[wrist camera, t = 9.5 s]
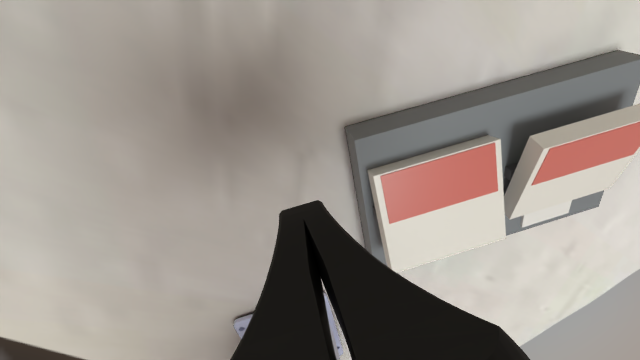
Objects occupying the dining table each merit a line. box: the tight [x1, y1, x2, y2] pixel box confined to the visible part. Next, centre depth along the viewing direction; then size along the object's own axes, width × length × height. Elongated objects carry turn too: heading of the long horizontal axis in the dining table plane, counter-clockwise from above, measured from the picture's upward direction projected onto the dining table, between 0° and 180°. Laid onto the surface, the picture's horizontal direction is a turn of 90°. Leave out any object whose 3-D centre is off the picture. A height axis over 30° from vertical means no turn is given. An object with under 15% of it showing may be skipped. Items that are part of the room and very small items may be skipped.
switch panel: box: [345, 50, 640, 266], centre depth 24 cm, size 12×19×3 cm, turn 101°
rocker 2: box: [504, 104, 640, 220], centre depth 23 cm, size 7×8×1 cm
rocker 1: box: [367, 135, 506, 273], centre depth 22 cm, size 7×8×1 cm
